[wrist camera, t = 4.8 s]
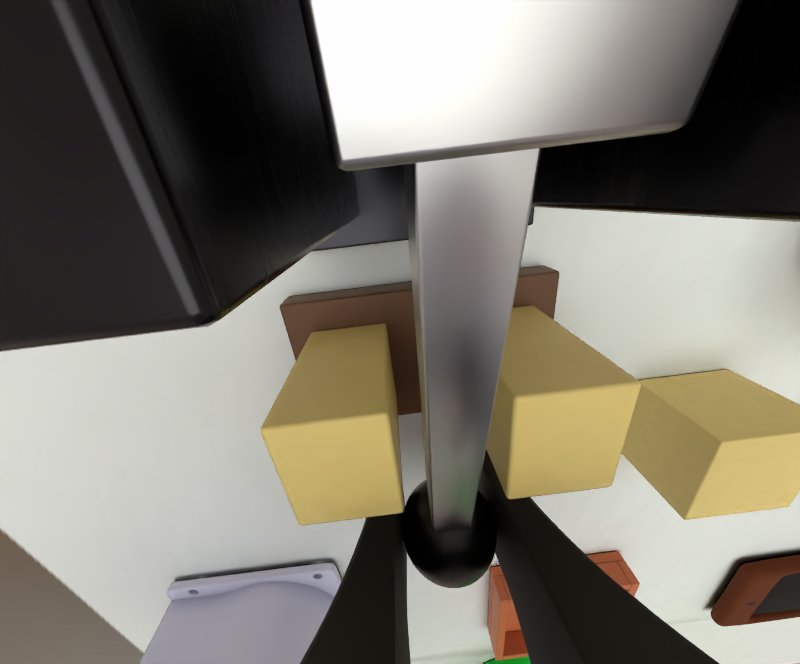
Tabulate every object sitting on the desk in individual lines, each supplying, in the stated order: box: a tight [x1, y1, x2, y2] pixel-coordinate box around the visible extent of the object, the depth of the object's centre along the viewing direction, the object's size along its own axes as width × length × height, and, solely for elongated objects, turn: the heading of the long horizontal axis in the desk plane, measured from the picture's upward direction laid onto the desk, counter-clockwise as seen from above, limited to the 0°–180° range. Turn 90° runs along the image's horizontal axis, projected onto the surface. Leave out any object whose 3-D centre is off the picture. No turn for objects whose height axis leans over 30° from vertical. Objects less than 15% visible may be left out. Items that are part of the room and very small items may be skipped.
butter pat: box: [621, 369, 800, 520], centre depth 12 cm, size 4×4×4 cm
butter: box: [261, 265, 641, 525], centre depth 9 cm, size 5×9×6 cm, turn 96°
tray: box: [488, 551, 640, 661], centre depth 19 cm, size 8×8×2 cm
